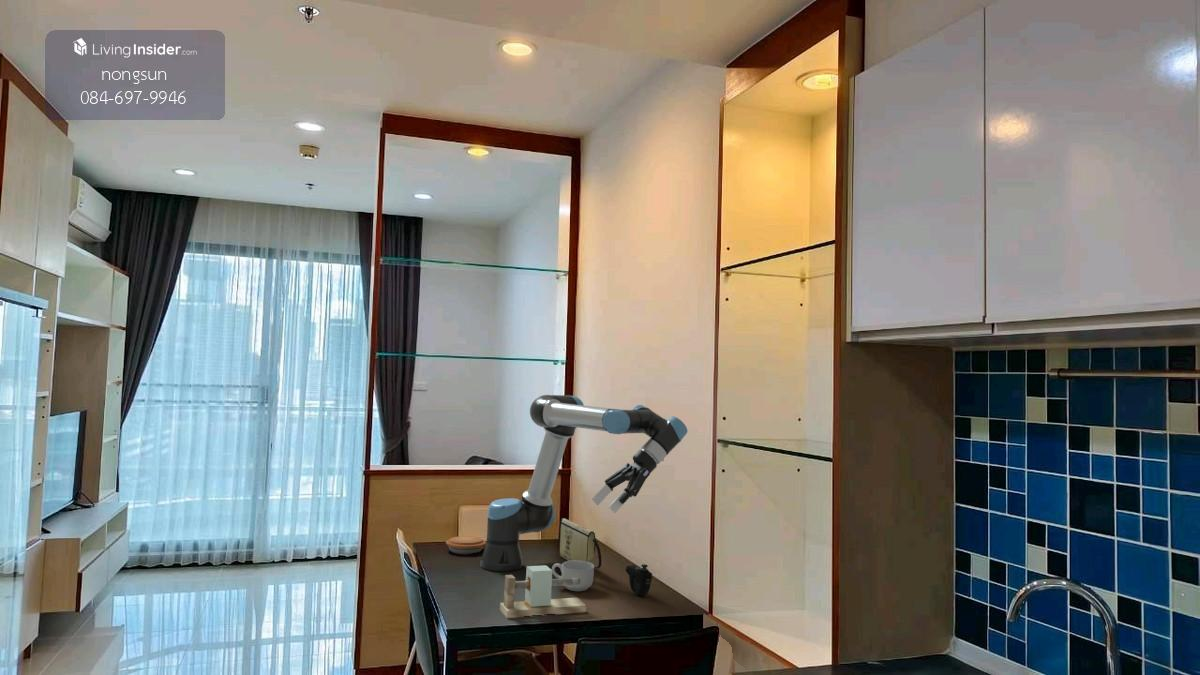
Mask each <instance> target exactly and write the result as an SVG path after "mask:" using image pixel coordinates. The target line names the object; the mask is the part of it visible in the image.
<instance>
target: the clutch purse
mask: <svg viewBox="0 0 1200 675" xmlns="http://www.w3.org/2000/svg"><path fill="white" fill-rule="evenodd" d="M596 539H597V538H596V533H595V532H594V531H592V530H590V529H588V528H586V527H584V526H581V525H580V524H578V523H575V522H573V521H571V520H569V519H567V518H565V517H562V518H561V520H560V526H559V544H558V554H559V556H560V558H562V559H565V560H566V561H572V560H580V561H586V562H590V563H592V564H593V565H594V569H600V568H601V566H602V552H601V549H600V545H599V542H598V541H597V540H596ZM596 550H597V555H598V565H597V567H595V552H596Z"/></svg>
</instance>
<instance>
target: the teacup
mask: <svg viewBox="0 0 1200 675" xmlns="http://www.w3.org/2000/svg"><path fill="white" fill-rule="evenodd" d="M557 567H558V568H559V569H560V572H561V575H559V574H558V573H557V572H556V570H555V569H556V568H557ZM594 567H595V564H594V565H593V564H592V563H590V562H586V561H580V560H572V561H568V560H566V561H564V562H563V563H554V564H553V565H552V567H551V570H552V576H554V577H555V578H556V579H564V578H580V581H581V582H580V585H565V586H564V587H565V588H566V590H569V591H571V592H585V591H586V590H588V589H589V588H590V587H591V586H592V585H593V583H594V573H595V568H594Z"/></svg>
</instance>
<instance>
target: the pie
mask: <svg viewBox="0 0 1200 675" xmlns="http://www.w3.org/2000/svg"><path fill="white" fill-rule="evenodd" d="M486 543H487V541H486V540H484V539H483V538H481V537H477V536H471V535H460V536H453V537H450V538H449V539H447V540H446V541H445V544H446V545H447V546H448V548H449V550H450V552H451V553H453V554H455V555H457V554H458V555H473V554H472V553H476V554H478V553H477V552H479V553H480V552H481V551H482V549H483V547H485V546H486Z"/></svg>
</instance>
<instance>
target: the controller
mask: <svg viewBox="0 0 1200 675" xmlns="http://www.w3.org/2000/svg"><path fill="white" fill-rule="evenodd" d="M640 566H641V567H639V566H637V565H633V564H632V565H627V566H626V568H625V572H626V573H627V574H628V578H629V580H628V581H629V586H630V590H631V591H632V593H633V594H634V595H636V596H644V595H646V594H648V592H649V591H650V589H651V585H652V584H651V583H652V580H653V579H652V578H653V572H651V571H650V570H649V569H648V567H649V566H648V564H644V563H643V564H641V565H640Z"/></svg>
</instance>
